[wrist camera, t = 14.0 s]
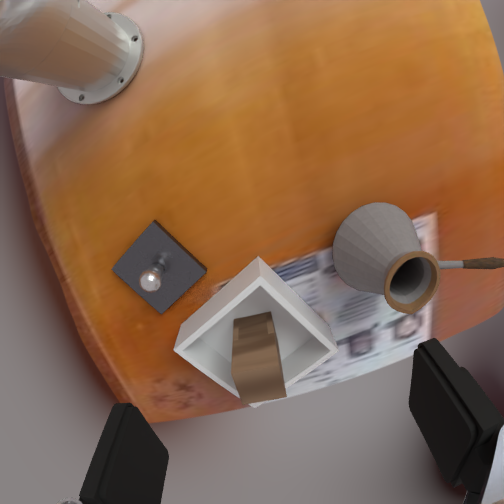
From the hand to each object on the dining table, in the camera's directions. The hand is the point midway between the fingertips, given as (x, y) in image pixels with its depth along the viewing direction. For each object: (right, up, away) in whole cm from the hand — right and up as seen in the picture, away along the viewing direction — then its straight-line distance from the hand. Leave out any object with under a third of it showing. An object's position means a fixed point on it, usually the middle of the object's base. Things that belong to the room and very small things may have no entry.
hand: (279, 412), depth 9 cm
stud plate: (-13, +3, +31) cm, 34 cm away
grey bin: (0, -5, +34) cm, 34 cm away
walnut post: (0, -5, +33) cm, 34 cm away
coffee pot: (+19, +7, +30) cm, 36 cm away
